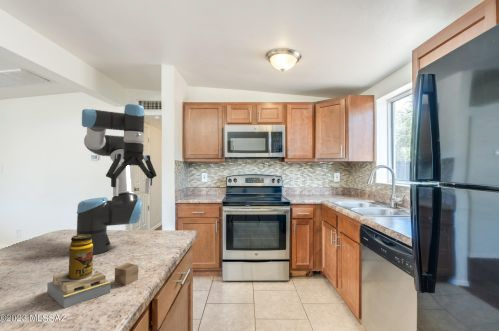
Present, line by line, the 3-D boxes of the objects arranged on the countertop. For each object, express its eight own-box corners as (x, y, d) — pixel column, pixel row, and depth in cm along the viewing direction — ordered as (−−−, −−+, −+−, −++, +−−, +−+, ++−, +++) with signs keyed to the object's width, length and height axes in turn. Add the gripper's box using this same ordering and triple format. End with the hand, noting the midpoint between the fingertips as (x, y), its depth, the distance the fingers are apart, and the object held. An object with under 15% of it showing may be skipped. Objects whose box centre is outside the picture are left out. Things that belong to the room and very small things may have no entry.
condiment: (88, 280, 76) (89, 238, 76) (55, 282, 74) (56, 239, 75) (97, 270, 83) (98, 232, 84) (67, 272, 82) (68, 233, 82)
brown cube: (114, 283, 86) (114, 267, 86) (127, 277, 91) (127, 262, 91) (125, 286, 84) (126, 270, 84) (137, 280, 89) (138, 265, 89)
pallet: (52, 282, 79) (52, 275, 79) (89, 272, 87) (89, 266, 87) (67, 294, 72) (67, 287, 72) (105, 282, 80) (105, 275, 80)
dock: (47, 292, 79) (47, 282, 79) (90, 279, 88) (91, 270, 88) (64, 308, 70) (64, 296, 70) (110, 292, 80) (110, 282, 80)
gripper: (106, 139, 96) (104, 197, 96) (165, 144, 116) (164, 193, 115) (97, 140, 100) (95, 195, 100) (155, 145, 120) (154, 192, 120)
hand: (132, 194), depth 108 cm, fingers open, 13 cm apart
